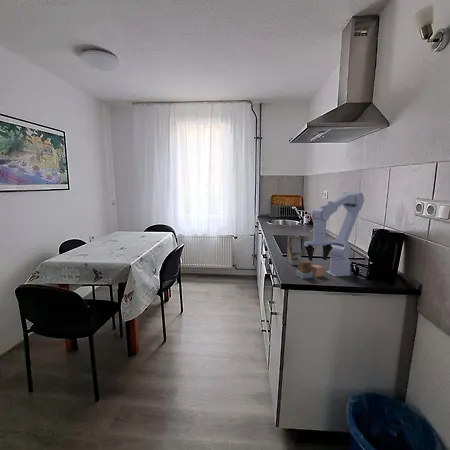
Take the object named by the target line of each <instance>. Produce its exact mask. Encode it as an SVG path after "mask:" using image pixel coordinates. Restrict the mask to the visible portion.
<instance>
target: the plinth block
mask: <svg viewBox="0 0 450 450" xmlns="http://www.w3.org/2000/svg"><path fill="white" fill-rule="evenodd" d="M295 276H297V277H298V276H299V278H300V279H302V280H303V279H313V277H314V276H313V273H312V272H308V273H302V272H300V271H299V270H298V269H296V270H295Z"/></svg>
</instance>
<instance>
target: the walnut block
mask: <svg viewBox="0 0 450 450" xmlns="http://www.w3.org/2000/svg"><path fill="white" fill-rule="evenodd" d="M311 265H312V261H310V260H309V261H308V260H307V259H305V260H301V261H299V263H298V265H297V268H298V269H297V270H299V271H300V272H302V273H308V272H311Z"/></svg>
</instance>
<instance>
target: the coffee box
mask: <svg viewBox="0 0 450 450" xmlns="http://www.w3.org/2000/svg"><path fill="white" fill-rule="evenodd" d="M303 241H304V239H303V237H301V236H300V235H287V249H286V250H287V251H286V262H287V263H288V264H289V265H291V266H298V263H299V261H302V257H303V256H302V255H303Z"/></svg>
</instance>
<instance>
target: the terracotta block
mask: <svg viewBox="0 0 450 450" xmlns="http://www.w3.org/2000/svg"><path fill="white" fill-rule="evenodd" d="M311 272H312V273H313V277H315V278H319V277H323V276H324V266H322V265H318V264H311Z"/></svg>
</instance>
